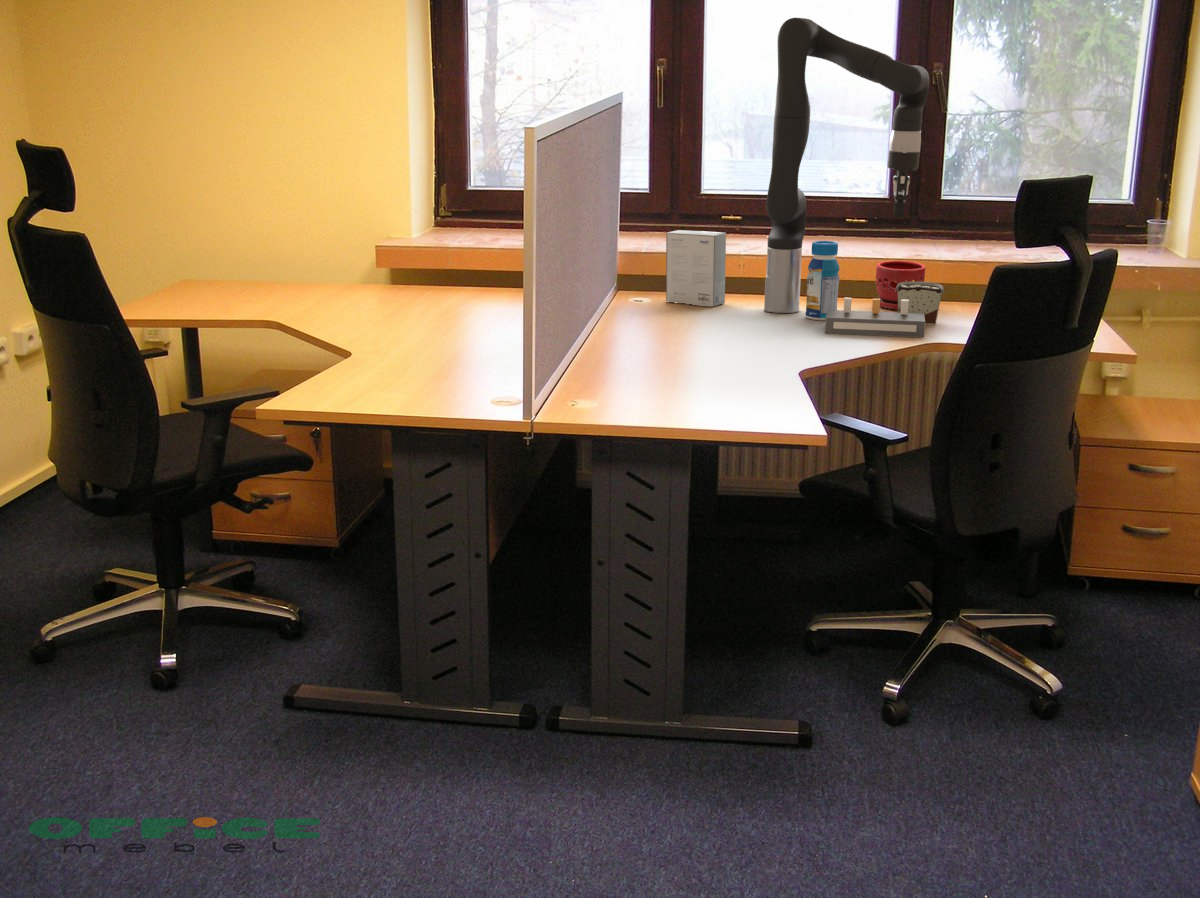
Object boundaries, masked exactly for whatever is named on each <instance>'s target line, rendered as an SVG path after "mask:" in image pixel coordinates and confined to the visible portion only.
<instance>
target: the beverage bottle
mask: <svg viewBox="0 0 1200 898" xmlns="http://www.w3.org/2000/svg"><path fill="white" fill-rule="evenodd" d="M838 244H839V243H838V242H837V241H833V240H832V241H831V240H816V241H812V244H811V255H812V256H813V257H812V258H811V260H810V261H809V263H808V266H807V270H808V274H807V276H806V283H807V284H806V301H805V302H806V304H805V305H806V306H805V317H806V318H807V319H808V320H813V321H820V322H821V321H823V322H824V321H825V322H826V315H827V311H828V310H838V301H839V300H838V299H839V297H838V295H839V283H840V275H839V272H840V264H839V262H838V260H837V259H836V256H838V252H839V245H838Z"/></svg>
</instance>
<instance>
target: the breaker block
mask: <svg viewBox="0 0 1200 898" xmlns="http://www.w3.org/2000/svg"><path fill="white" fill-rule="evenodd" d="M824 324H825V326H824V334H829V335H830V334H831V335H854V336H856V335H857V336H859V335H860V336H881V337H883V336H884V337H904V338H905V337H906V338H922V337H924V338H925V329H926V324H925V316H924V314H921V313H908V315H903V314H900V313H898V312H896V311H895V312H890V311H888V312H887V311H879V314H878V313H872V311H870V310H869V311H866V310H865V311H863V310H851V312H844V309H843V310H841V309H840V310H838V309H837V310H828V311H827V315H826V320H825V323H824Z"/></svg>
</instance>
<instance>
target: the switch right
mask: <svg viewBox="0 0 1200 898" xmlns="http://www.w3.org/2000/svg"><path fill="white" fill-rule="evenodd" d="M908 305H909V300H901V311H900V314H903V315H908Z"/></svg>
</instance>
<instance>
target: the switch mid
mask: <svg viewBox="0 0 1200 898" xmlns="http://www.w3.org/2000/svg"><path fill="white" fill-rule="evenodd" d="M871 307H872V308H871V312H872V313H878V314H879V312H880V308H881V306H880V299H877V298H872V303H871Z"/></svg>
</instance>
